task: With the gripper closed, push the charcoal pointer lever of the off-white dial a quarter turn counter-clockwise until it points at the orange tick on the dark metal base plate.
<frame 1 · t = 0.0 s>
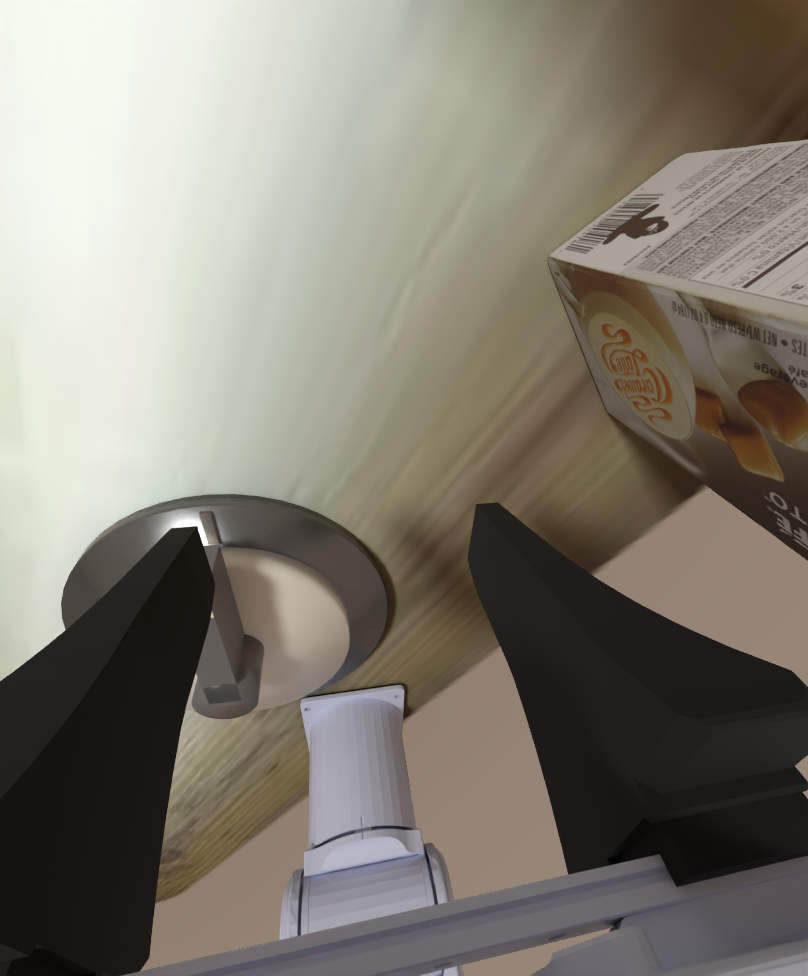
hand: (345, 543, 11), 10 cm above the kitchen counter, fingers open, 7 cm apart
dial plate: (241, 613, 26), on the kitchen counter
coffee box: (635, 300, 20), on the kitchen counter
dial: (229, 655, 23), point 3 cm above the kitchen counter, hinge at 0.0°
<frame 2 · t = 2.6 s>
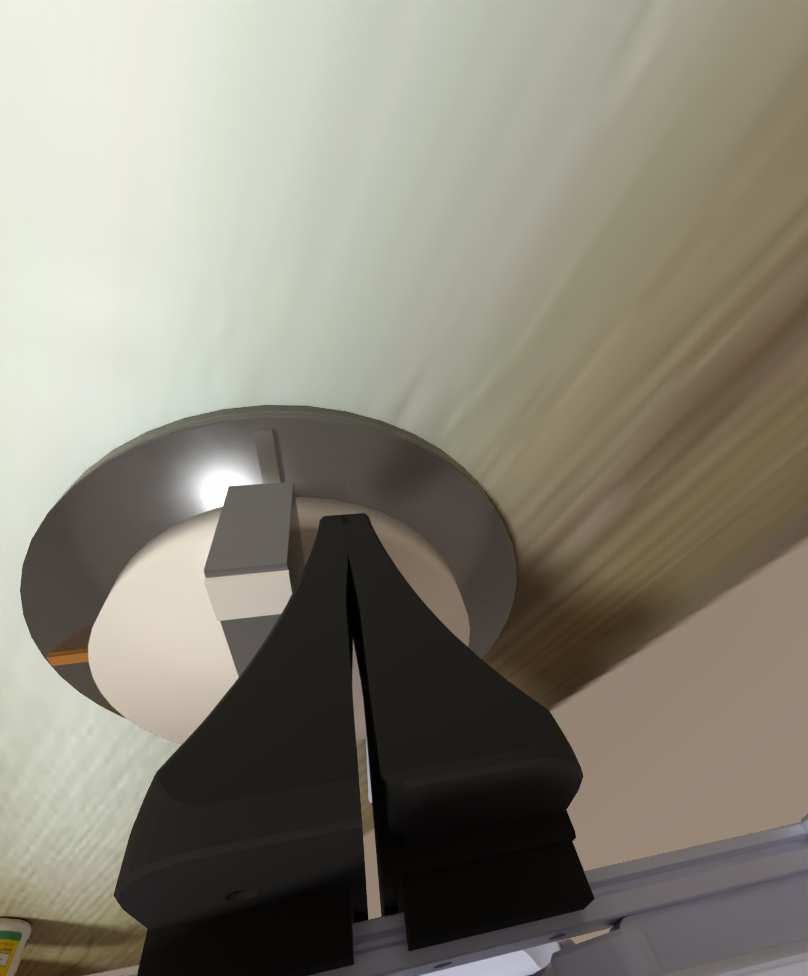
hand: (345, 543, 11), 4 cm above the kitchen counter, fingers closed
dial plate: (299, 607, 18), on the kitchen counter
dial: (293, 674, 14), point 3 cm above the kitchen counter, hinge at 0.0°, touching gripper
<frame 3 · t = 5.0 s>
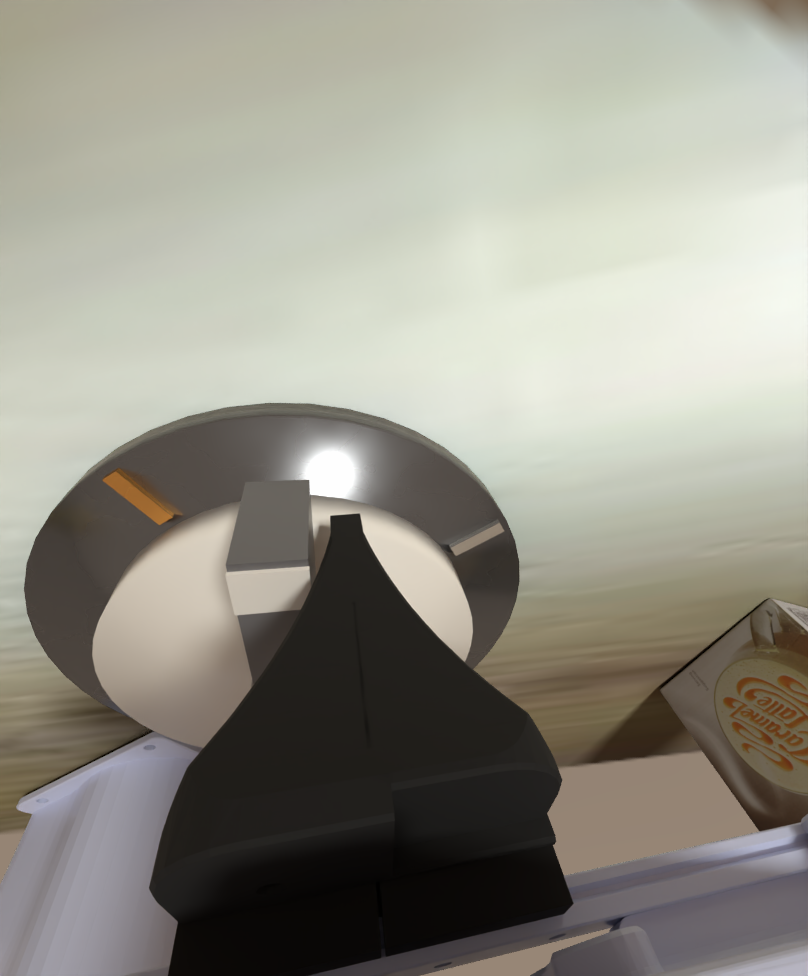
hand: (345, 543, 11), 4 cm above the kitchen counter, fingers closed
dial plate: (301, 606, 18), on the kitchen counter
coffee box: (737, 648, 27), on the kitchen counter
dial: (297, 672, 14), point 3 cm above the kitchen counter, hinge at 57.8°, touching gripper
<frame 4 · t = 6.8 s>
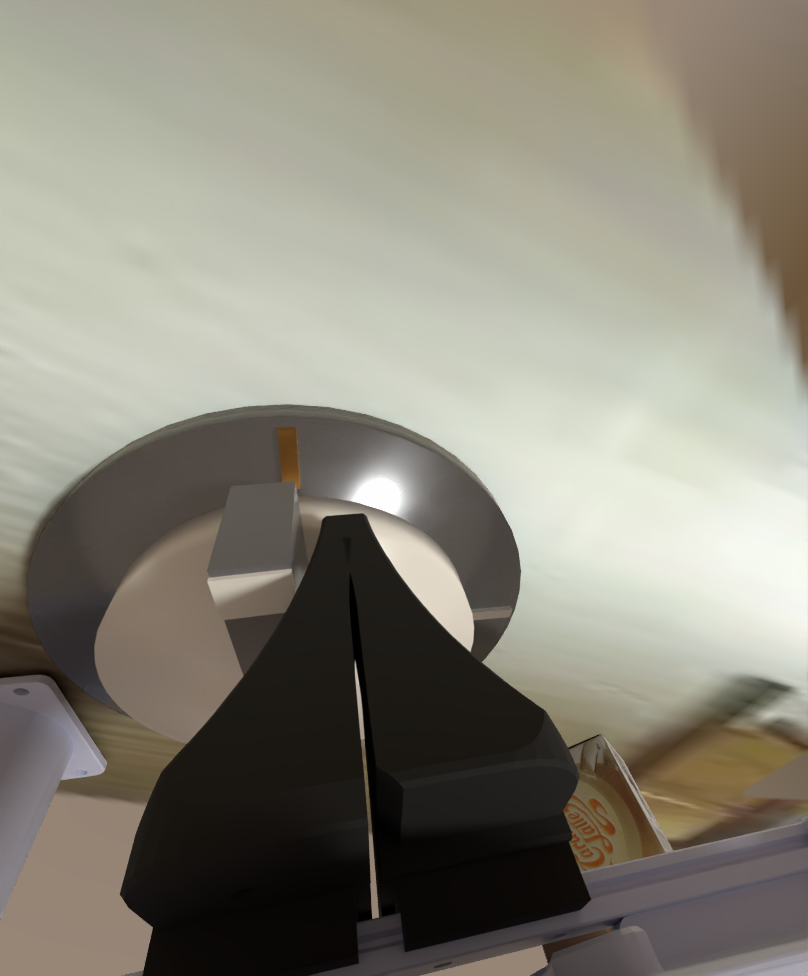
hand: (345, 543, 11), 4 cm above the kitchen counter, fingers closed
dial plate: (303, 607, 18), on the kitchen counter
coffee box: (558, 766, 33), on the kitchen counter
dial: (298, 673, 14), point 4 cm above the kitchen counter, hinge at 94.0°, touching gripper
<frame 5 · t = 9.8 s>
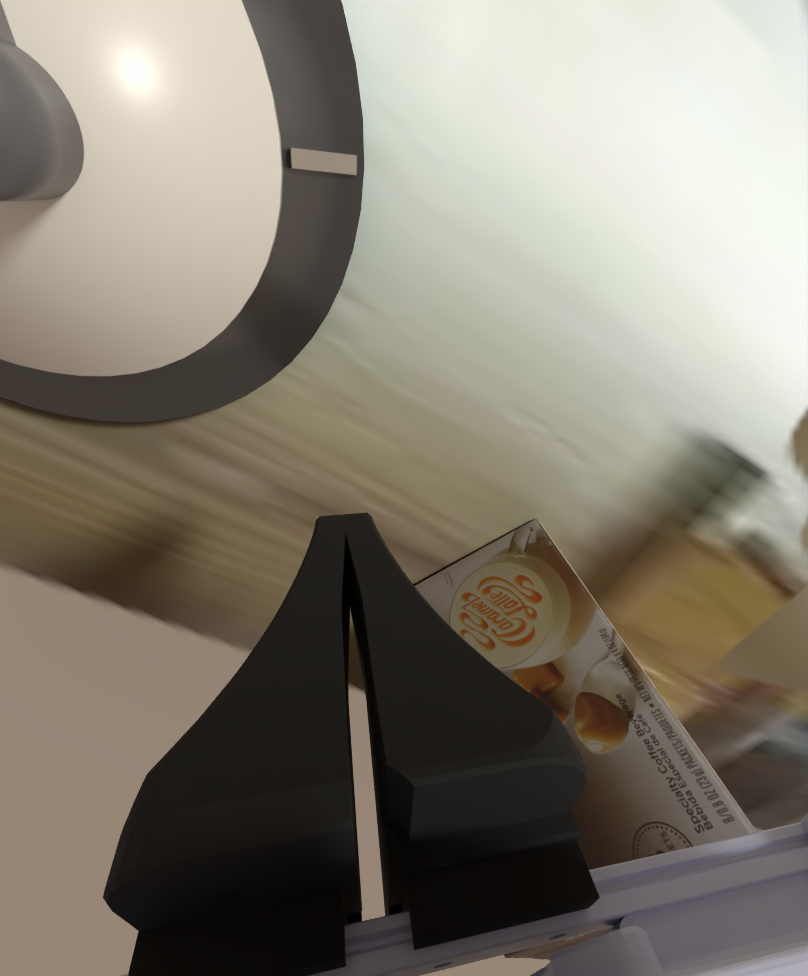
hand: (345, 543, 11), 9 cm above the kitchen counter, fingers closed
dial plate: (61, 134, 13), on the kitchen counter
coffee box: (491, 576, 28), on the kitchen counter
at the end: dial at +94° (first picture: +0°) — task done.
